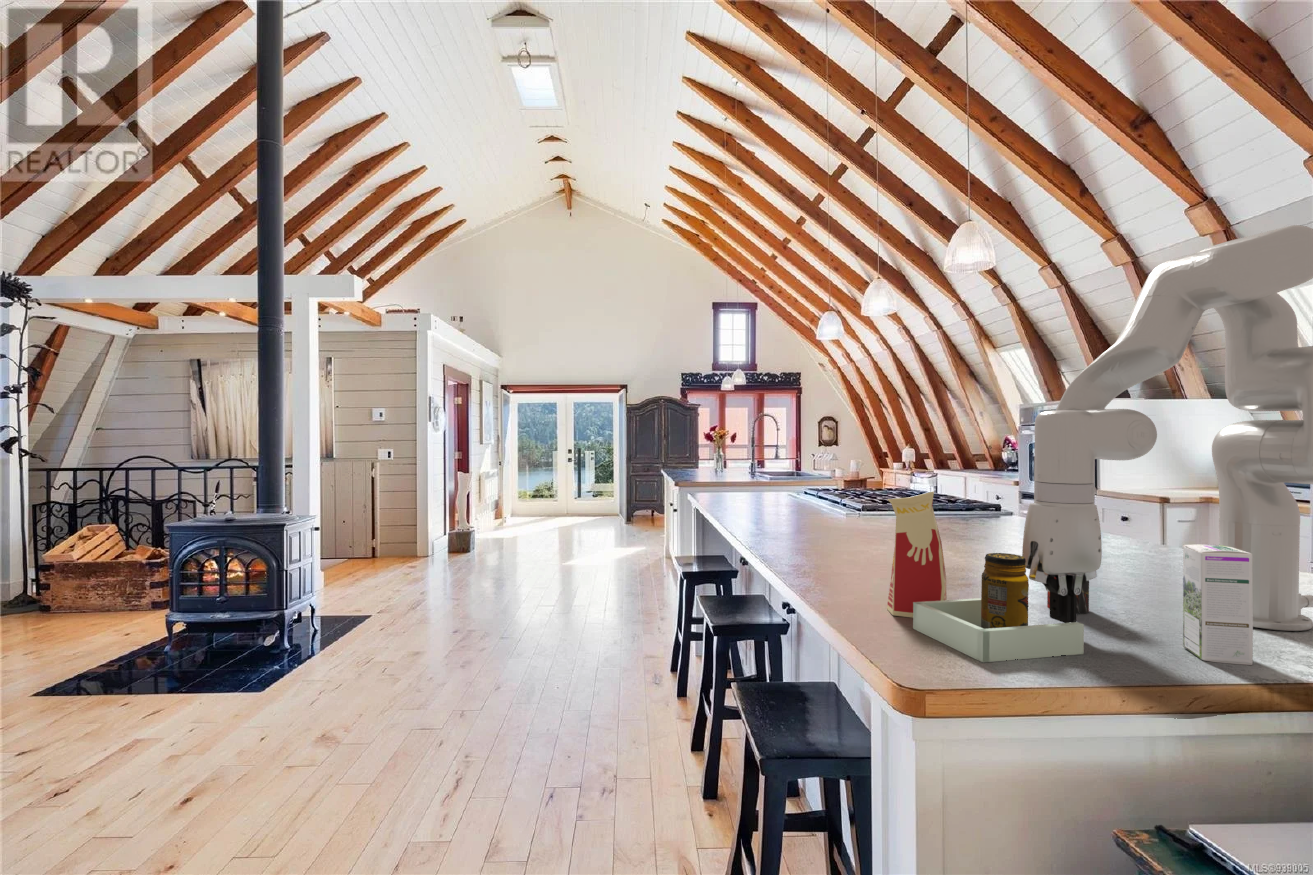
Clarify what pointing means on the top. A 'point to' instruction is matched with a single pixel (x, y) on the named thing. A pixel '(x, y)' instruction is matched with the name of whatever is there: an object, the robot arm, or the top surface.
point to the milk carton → (916, 556)
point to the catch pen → (993, 633)
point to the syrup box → (1218, 603)
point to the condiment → (1004, 591)
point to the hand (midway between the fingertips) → (1062, 620)
